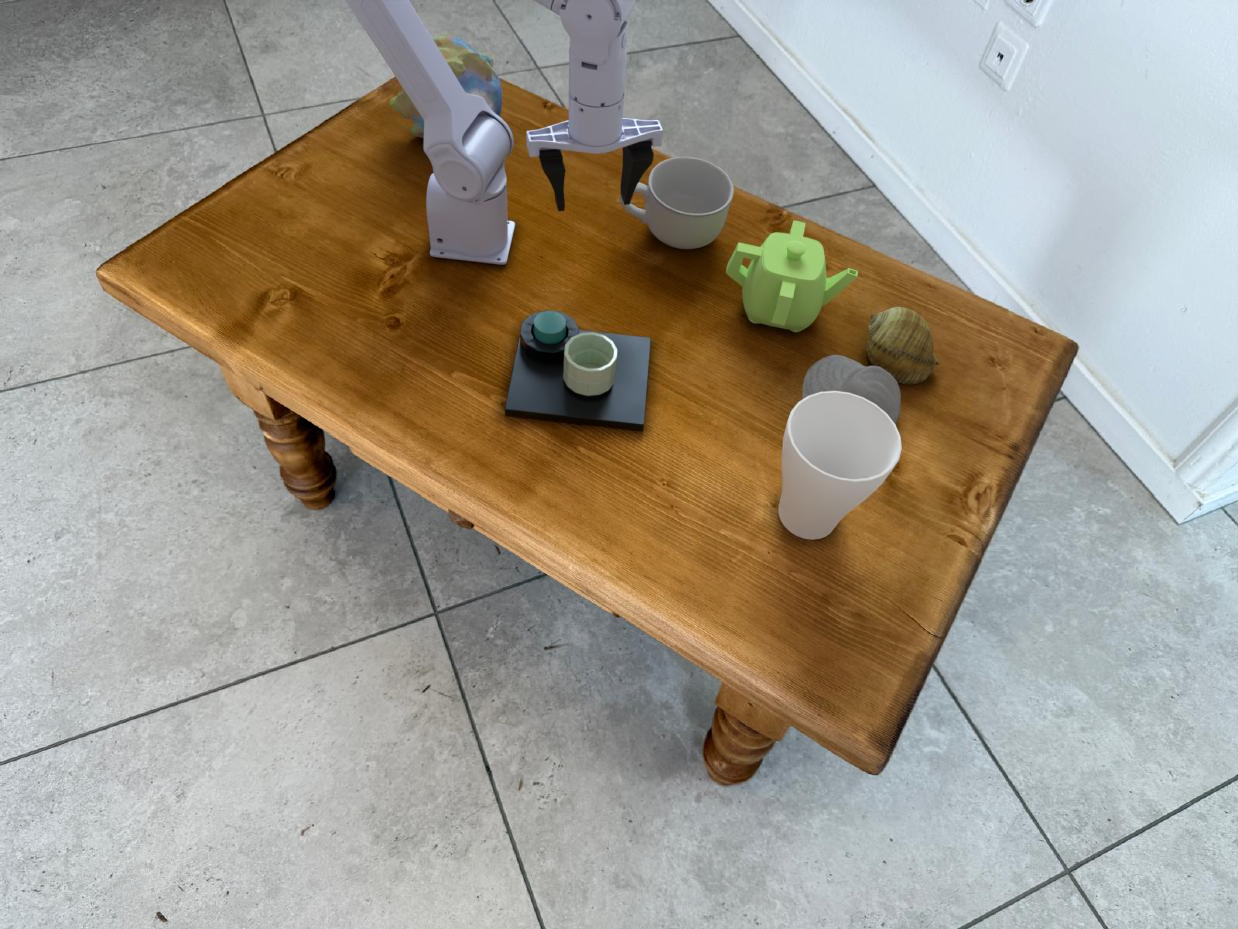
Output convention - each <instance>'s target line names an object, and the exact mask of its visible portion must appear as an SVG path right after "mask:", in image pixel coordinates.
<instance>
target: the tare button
mask: <svg viewBox="0 0 1238 929" xmlns="http://www.w3.org/2000/svg"><path fill="white" fill-rule="evenodd" d="M543 311H544V310H543ZM555 311H556V310H550V311H544V312H541V313H539V314H538V315H537V316H536V317H535V319H534V336H535V338H536V339H537V340H538V341H539V342H541V343H544V344H550V345H552V344H557V343H559V342H561V341H562V340H563V339H564V338H565V335H566V320H565V318H564V317H563V315H561V314H560V313H558V312H555Z"/></svg>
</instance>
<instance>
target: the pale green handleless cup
mask: <svg viewBox="0 0 1238 929" xmlns="http://www.w3.org/2000/svg"><path fill="white" fill-rule="evenodd" d="M594 332H595V331H594ZM594 332H589V333H580V334H578V335H576V336H574V337H572V338H571V339H570V340H569V341H568V342H567V343H566V345H565V352H564V373H563V379H564V381H565V383H566V385H567V386H568V387H569V388H570V389H571V390H573V391H574V392H575V393H578V394H582V395H586V396H591V395H600V394H602V393H604V392H606V391H608V390H609V389H610V388H611V386H612V385H613V384H614V379H615V370H616V362H617V348H616V346H615V344H614V343H613V341H612V340H610V339H609V338H607V337H606V336H605V335H602V334H598V333H594Z"/></svg>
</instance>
